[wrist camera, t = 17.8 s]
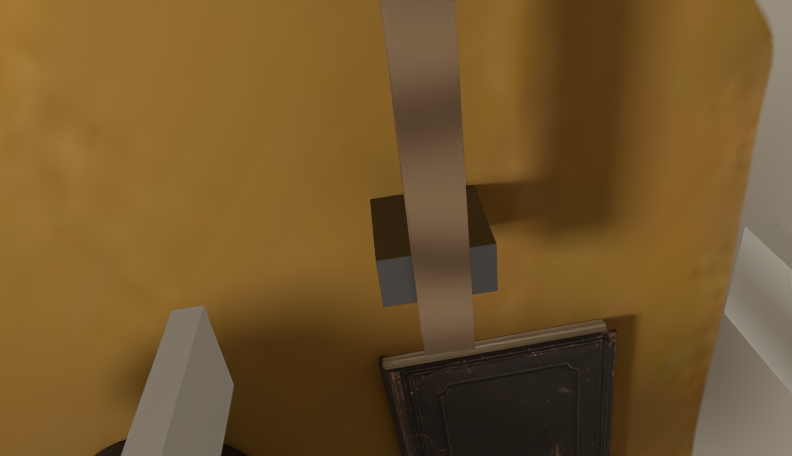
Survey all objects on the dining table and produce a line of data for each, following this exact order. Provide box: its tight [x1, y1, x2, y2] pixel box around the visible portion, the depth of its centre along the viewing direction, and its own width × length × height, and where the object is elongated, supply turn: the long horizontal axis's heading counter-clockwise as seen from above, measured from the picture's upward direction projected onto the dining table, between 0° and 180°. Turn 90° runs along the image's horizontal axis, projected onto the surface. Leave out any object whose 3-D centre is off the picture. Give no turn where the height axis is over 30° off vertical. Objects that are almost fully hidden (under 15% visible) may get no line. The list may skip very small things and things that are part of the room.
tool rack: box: [370, 185, 498, 307], centre depth 28 cm, size 21×6×6 cm, turn 7°
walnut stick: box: [379, 0, 475, 356], centre depth 24 cm, size 24×2×2 cm, turn 7°
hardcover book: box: [379, 319, 617, 456], centre depth 47 cm, size 16×23×2 cm
